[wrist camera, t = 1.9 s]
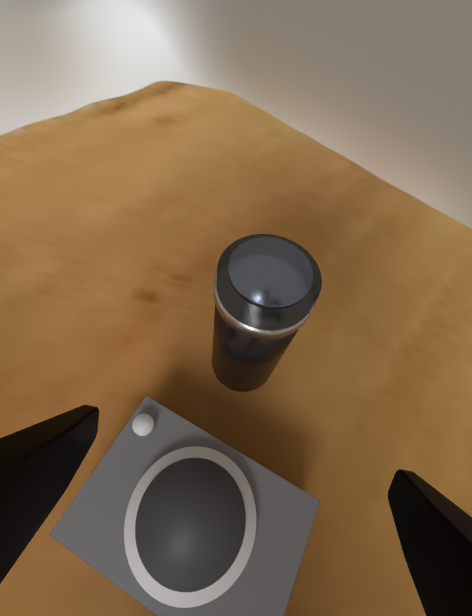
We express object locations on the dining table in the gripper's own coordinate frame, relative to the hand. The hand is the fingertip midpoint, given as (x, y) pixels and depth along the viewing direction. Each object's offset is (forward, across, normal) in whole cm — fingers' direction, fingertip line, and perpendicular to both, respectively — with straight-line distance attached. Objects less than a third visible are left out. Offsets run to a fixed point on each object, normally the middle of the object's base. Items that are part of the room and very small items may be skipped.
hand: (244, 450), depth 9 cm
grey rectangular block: (+8, +1, +11) cm, 14 cm away
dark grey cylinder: (+15, 0, +4) cm, 16 cm away
